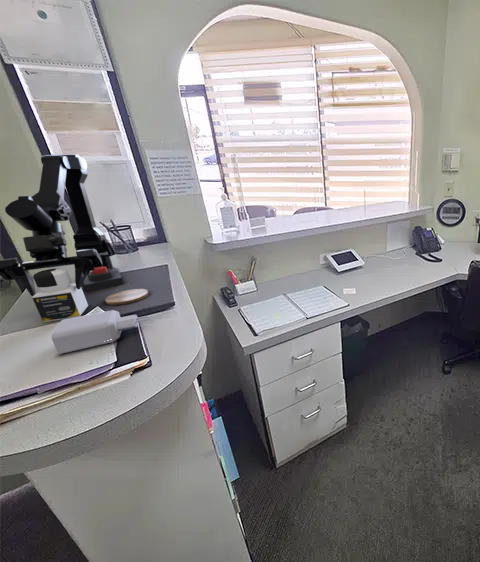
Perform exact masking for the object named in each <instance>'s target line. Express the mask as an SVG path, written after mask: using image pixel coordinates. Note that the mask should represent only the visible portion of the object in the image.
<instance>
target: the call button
mask: <svg viewBox="0 0 480 562" xmlns="http://www.w3.org/2000/svg"><path fill="white" fill-rule="evenodd" d="M91 272H93V274H101V273H105V272H108V271H107V268H106V267H105V266H101V267H97V268H95V270H92V271H91Z"/></svg>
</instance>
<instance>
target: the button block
mask: <svg viewBox="0 0 480 562" xmlns="http://www.w3.org/2000/svg"><path fill="white" fill-rule="evenodd" d="M107 271H108V272H105V273H101V274H93V272H92V271H90V272H89V274H88V275H87V276H86V278H85V280H84V282H83V284H84V287H85V290H86V292H91V291H96V290H101V289H104V288H111V287H115V286H119V285H123V284H124V281H123V278H122V276H121V274H120V272H119V270H116V271H113V269H107Z"/></svg>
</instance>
